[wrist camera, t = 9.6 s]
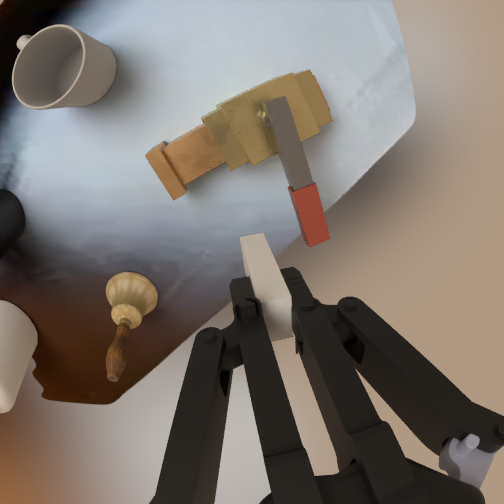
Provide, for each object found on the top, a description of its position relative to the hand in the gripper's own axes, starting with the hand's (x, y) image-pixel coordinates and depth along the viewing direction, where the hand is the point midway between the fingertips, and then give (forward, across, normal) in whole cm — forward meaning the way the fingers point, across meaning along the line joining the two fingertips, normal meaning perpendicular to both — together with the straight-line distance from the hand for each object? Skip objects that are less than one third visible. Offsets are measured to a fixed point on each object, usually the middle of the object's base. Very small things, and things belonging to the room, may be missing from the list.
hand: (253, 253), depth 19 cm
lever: (+13, +6, +2) cm, 14 cm away
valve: (+20, +2, +6) cm, 21 cm away
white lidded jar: (+19, -45, -17) cm, 52 cm away
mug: (+20, -16, +19) cm, 32 cm away
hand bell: (+19, -17, -15) cm, 30 cm away
